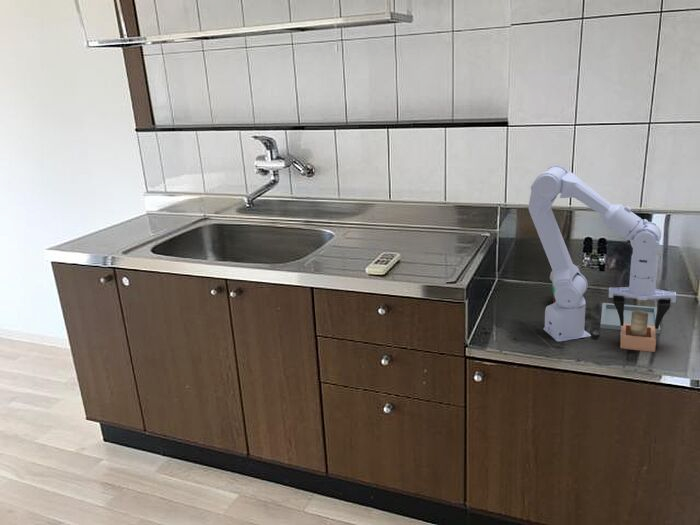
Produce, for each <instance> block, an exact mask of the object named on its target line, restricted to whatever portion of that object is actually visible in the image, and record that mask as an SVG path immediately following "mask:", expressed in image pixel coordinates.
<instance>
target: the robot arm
mask: <svg viewBox="0 0 700 525" xmlns="http://www.w3.org/2000/svg"><path fill="white" fill-rule="evenodd" d="M559 194H560V195H559ZM558 195H559V199H568V198H569V199H570V198H571V199H572V198H573V199H574V198H575V199H576V200H577V201H579V202H580V203H582V204H583V205H585V206H586V207H589V208H590V209H591V210H593V211H594V212H596V213H598V214H599V215H601V216H602V218H603V224H604V225H606V226H607V227H609V229H612V230H613V231H614V232H616V233H617V234H618V235H620V236H621V237H622V238H624V239H625V240H628V241H630V245H631V248H632V254H631V258H630V271H629V284H628V285H629V286H625V287H624V286H622V287H609V288H608V298H610V299H611V298H612V299H613V300H612V302H613V304H614V305H615V307H616V309H617V312H618V314H619V318H620V326H623V325H624V305H625V299H637V300H638V301H647V300H652V301H657V302H656V305H657V306H656V307H657V314H656V319H655V329H658V328H659V325H660V326H661V322H662V320H663V318H664V316H665V314H666V313H668V311H669V310H670V308H671V303H676V301H677V292H676V291H669V290H663V289H658V288H657V278H658V277H657V275H658V268H659V267H658V266H659V245H660V241H661V239H662V231H661V228H659V225H657V224H656V223H655V222H652V221H649V220H648V219H646V218H644V219H642V218H641V217H640V216H638V215H637V214H635V213H634V212H632V211H631V210H632V209H631V207H630V206H629V205H625V206H624V205H622V203H620V204H612V203H611V202H609V201H608V200H607V199H605V198H604V197H603V196H602V195H600V194H599V192H597V191H595V190H594V189H593V188H591V186H589V185H588V184H586V183H585V182H584V181H583V180H581V178H579V177H578V176H577V175H576V174H575V173H573V172H571V171H568V170H567V169H566V168H565V167H563V166H560V165H553V166H549V168H547V169H545V171H544V172H543V173H541V174H539V175H538V176H537V177H536V178H535V180H534V181H533V182H532V184H531V186H530V196H529V200H528V205H527V206H528V207H527V208H528V211H529V214H530V218H531V219H532V222H533V225H534V227H535V230H536V232H537V235H538V237H539V240H540V242H541V245H542V248H543V250H544V252H545V255H546V257H547V259H548V263H549V264H550V267H551V271H552V270H553V284H554V287H555V293H554V296H555V299H556V302H555V303H551V304H549V305H547V306H546V307H545V310H544V327H543V330H544V331H545V332H546V333H547V334H548V335H549V336H551V338H553V339H554V340H555V341H556V342H563V341H565V342H566V341H570V340H577V339H581V338H587V337H591V336H592V335H591V334H590V332H588V331H586V330H585V320H586V305H587V304H586V302H587V301H586V299H585V297H584V294H585V293H586V291H587V290H588V288H589V287H588V285H589V284H588V280H587V279H586V277H585V276H584V274H582V273H581V271H580V272H579V269H578V267H577V266H578V265H577V266H575V264H574V263H573V260H572V258H571V255H570V252H569V250H568V247H567V245H566V243H565V240H564V237H563V235H562V232H561V230H560V227H559V224H558V222H557V220H556V217H555V214H554V211H553V209H552V206H553V205H554V203H555V201H556V199H557V197H558Z"/></svg>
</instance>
